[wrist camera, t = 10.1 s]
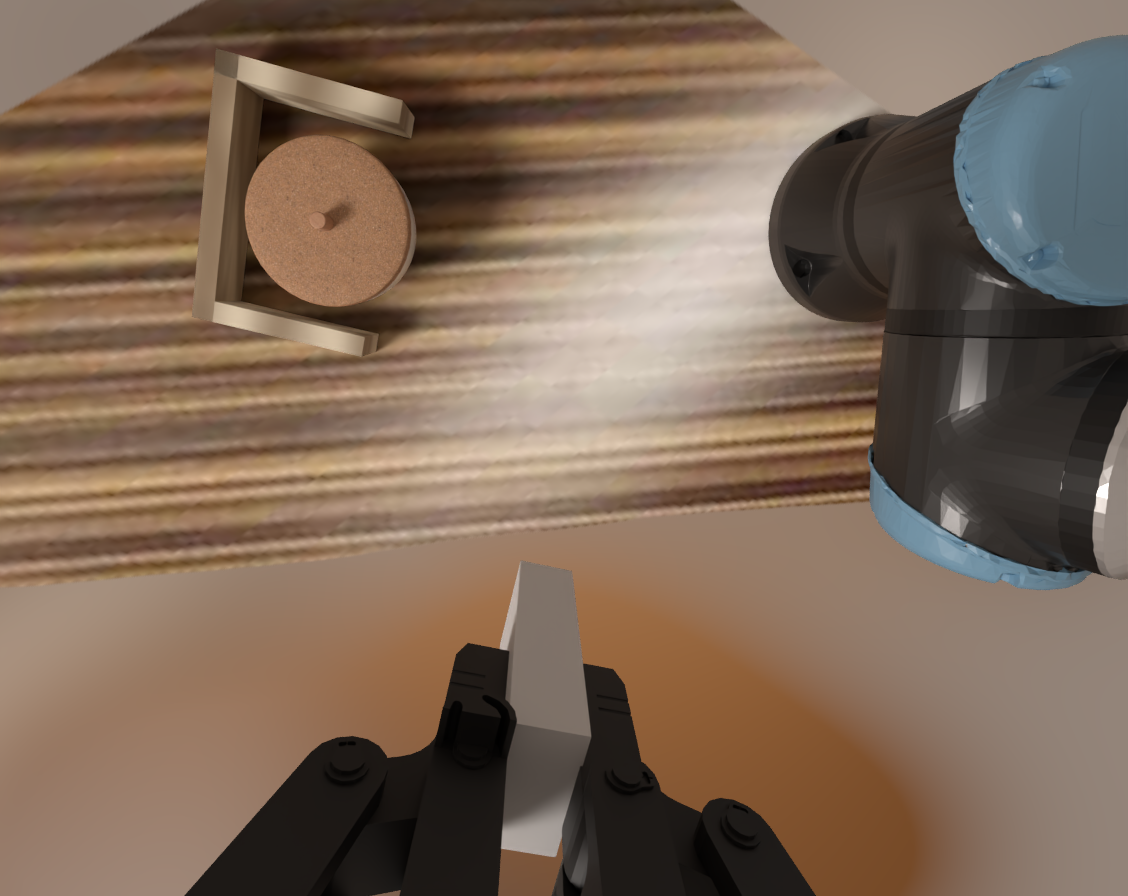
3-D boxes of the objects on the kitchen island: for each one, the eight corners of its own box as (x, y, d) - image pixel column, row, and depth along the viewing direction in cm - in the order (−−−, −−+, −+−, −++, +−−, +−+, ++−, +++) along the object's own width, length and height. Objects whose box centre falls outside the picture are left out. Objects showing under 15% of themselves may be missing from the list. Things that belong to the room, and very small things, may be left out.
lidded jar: (348, 128, 45) (299, 85, 35) (457, 231, 47) (438, 215, 38) (263, 238, 46) (195, 224, 37) (372, 333, 48) (333, 341, 39)
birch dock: (414, 117, 44) (402, 100, 41) (375, 351, 49) (361, 356, 45) (245, 71, 43) (216, 48, 39) (220, 315, 47) (191, 316, 44)
